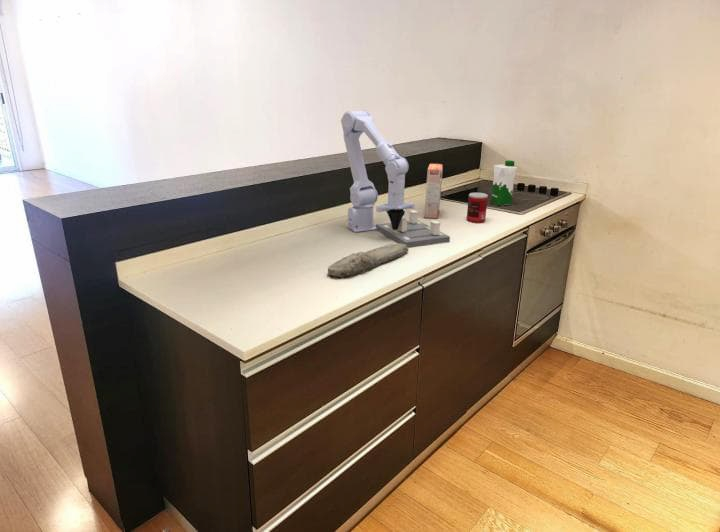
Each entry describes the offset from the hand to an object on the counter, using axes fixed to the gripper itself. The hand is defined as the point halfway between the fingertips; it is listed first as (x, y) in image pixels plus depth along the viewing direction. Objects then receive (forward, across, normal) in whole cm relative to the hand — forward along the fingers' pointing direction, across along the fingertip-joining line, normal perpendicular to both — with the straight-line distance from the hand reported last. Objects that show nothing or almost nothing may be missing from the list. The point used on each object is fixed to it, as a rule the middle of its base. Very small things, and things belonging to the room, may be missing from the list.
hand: (394, 229), depth 182 cm
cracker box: (+3, +30, +23) cm, 38 cm away
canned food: (+3, +42, +8) cm, 43 cm away
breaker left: (+1, +12, +8) cm, 15 cm away
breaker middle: (+1, +3, 0) cm, 3 cm away
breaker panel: (+3, +7, 0) cm, 8 cm away
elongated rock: (+4, -19, -21) cm, 29 cm away
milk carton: (+3, +70, +27) cm, 75 cm away
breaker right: (+1, +12, -8) cm, 15 cm away
